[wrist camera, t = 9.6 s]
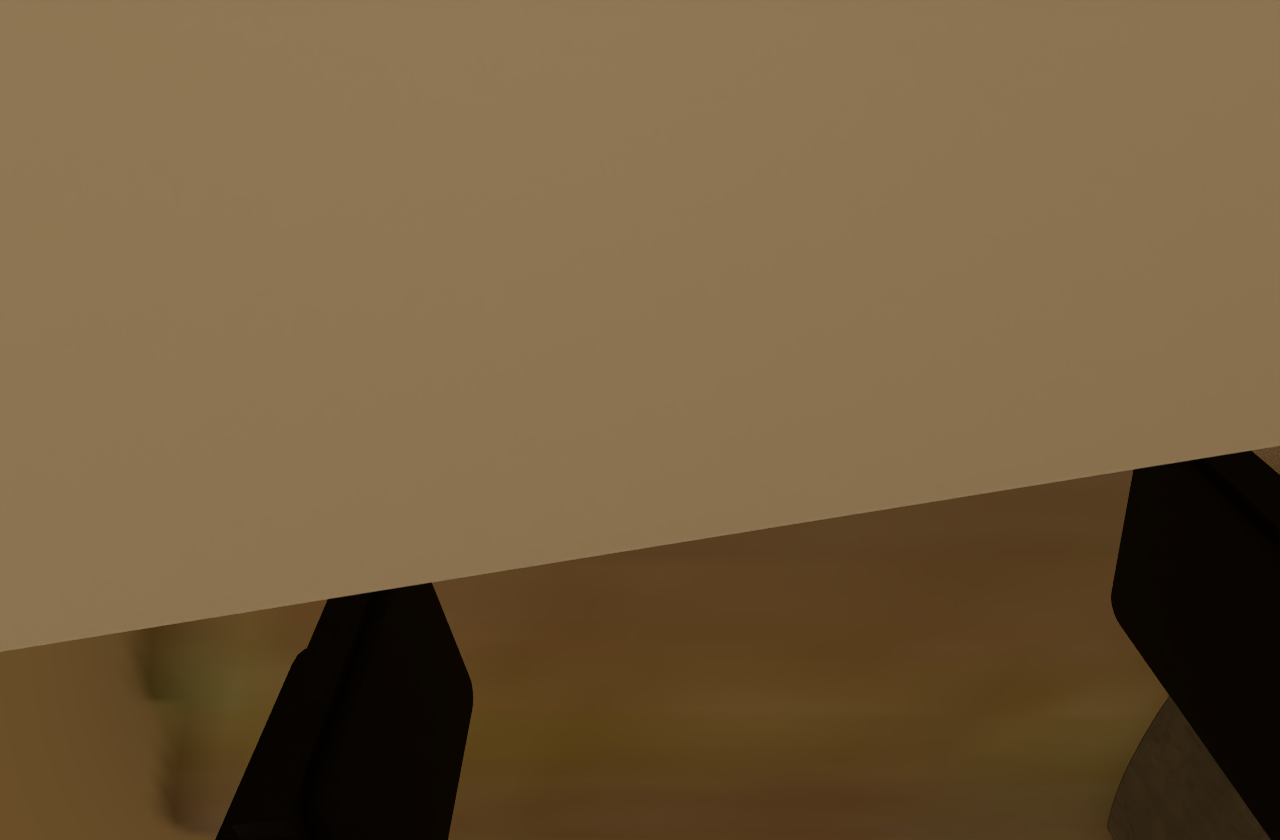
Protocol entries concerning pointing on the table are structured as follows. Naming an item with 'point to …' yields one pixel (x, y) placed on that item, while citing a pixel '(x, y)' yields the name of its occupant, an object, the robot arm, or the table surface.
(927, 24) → the socket block
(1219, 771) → the hip flask
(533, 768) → the table surface
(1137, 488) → the robot arm
